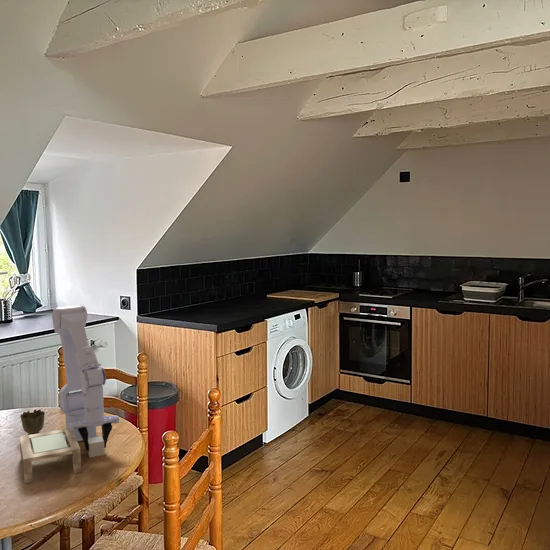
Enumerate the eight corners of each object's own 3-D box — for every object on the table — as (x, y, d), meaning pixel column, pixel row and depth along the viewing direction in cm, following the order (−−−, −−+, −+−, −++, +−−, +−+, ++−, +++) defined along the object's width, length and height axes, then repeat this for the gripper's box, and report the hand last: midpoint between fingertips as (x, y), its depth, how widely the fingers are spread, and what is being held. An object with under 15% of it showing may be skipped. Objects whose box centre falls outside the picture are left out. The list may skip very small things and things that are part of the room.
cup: (22, 442, 186) (21, 418, 185) (21, 434, 192) (19, 411, 191) (46, 438, 189) (45, 414, 188) (44, 430, 196) (43, 408, 195)
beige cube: (101, 449, 180) (101, 435, 179) (104, 454, 176) (104, 440, 175) (87, 452, 178) (86, 438, 177) (89, 457, 174) (89, 443, 173)
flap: (64, 442, 176) (64, 432, 176) (70, 457, 165) (69, 446, 165) (31, 448, 172) (31, 438, 171) (34, 463, 161) (34, 453, 161)
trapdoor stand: (72, 449, 180) (71, 427, 179) (81, 471, 164) (80, 448, 164) (20, 458, 173) (19, 436, 173) (24, 483, 157) (23, 459, 157)
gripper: (71, 414, 168) (73, 458, 170) (120, 406, 175) (122, 448, 176) (67, 407, 174) (69, 449, 176) (115, 399, 181) (117, 440, 183)
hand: (95, 448), depth 177 cm, fingers closed on beige cube, 4 cm apart
